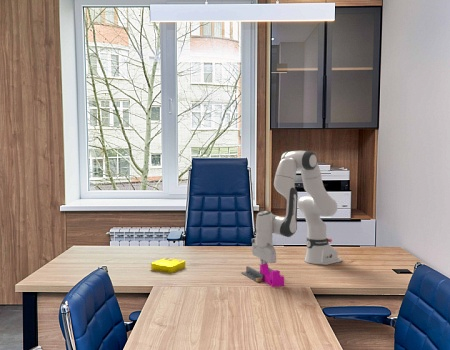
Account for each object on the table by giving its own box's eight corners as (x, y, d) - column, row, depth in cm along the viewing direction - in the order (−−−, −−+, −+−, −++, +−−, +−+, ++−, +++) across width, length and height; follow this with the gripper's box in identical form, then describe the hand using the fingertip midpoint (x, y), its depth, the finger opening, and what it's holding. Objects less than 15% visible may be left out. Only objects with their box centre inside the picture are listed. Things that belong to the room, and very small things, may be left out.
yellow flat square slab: (149, 270, 263) (149, 262, 263) (165, 264, 276) (165, 256, 276) (171, 274, 256) (171, 265, 256) (186, 267, 269) (186, 259, 269)
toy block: (284, 285, 235) (284, 270, 234) (273, 287, 233) (273, 272, 232) (270, 277, 249) (270, 263, 248) (260, 278, 247) (260, 264, 246)
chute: (266, 269, 263) (266, 263, 263) (283, 278, 247) (283, 272, 246) (241, 273, 256) (241, 267, 256) (257, 282, 240) (257, 275, 240)
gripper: (279, 245, 240) (279, 271, 241) (260, 237, 258) (260, 262, 259) (268, 246, 237) (268, 273, 238) (250, 238, 256) (250, 263, 257)
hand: (264, 267), depth 249 cm, fingers closed
